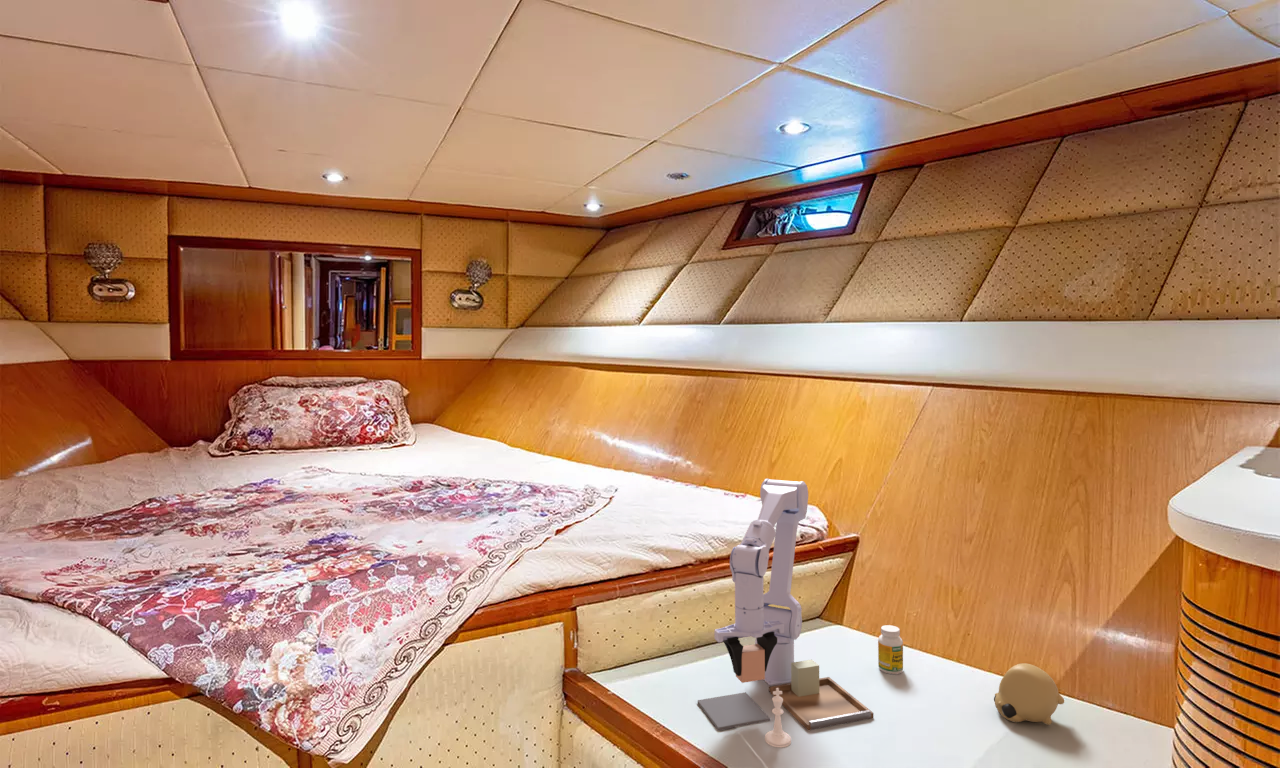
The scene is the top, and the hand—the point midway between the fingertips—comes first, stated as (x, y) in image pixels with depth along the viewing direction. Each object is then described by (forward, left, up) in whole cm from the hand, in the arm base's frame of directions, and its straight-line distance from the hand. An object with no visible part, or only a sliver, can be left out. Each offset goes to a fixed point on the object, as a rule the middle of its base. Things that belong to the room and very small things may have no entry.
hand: (749, 671), depth 136 cm
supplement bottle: (-7, +39, -9) cm, 40 cm away
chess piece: (+11, +1, -9) cm, 14 cm away
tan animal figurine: (+19, +51, -9) cm, 55 cm away
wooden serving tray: (+2, +15, -8) cm, 17 cm away
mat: (-1, -3, -8) cm, 9 cm away
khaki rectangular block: (-4, +15, -8) cm, 17 cm away
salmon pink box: (0, 0, -1) cm, 1 cm away
